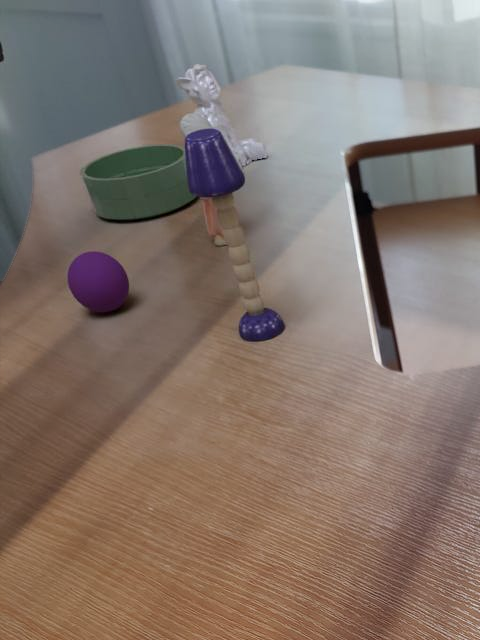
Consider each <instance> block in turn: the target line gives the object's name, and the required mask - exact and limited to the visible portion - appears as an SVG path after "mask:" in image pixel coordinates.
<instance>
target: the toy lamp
mask: <svg viewBox="0 0 480 640" xmlns="http://www.w3.org/2000/svg"><path fill="white" fill-rule="evenodd" d="M184 148H185V156H186V169H187V180H188V187H189V190H190V192H191V193H192V194H193V195H194V196H196V197H198V198H200V197H205V198H210V197H211V199H212V202H213V204H214V206H215V207H216V208H217V218H218V221H219V223H220V225H221V226H222V227H223V237H224V240H225V242H226V243H227V245H226V246H227V253H228V257H229V259H230V261H231V263H233V265H232V269H233V274H234V276H235V278H236V280H238V289H239V292H240V294H241V296H242V297H243V306H244V308H245V310H246V311H245V313H244V314H243V315H242V316H241V317H240V320H239V323H238V334H239V337H240V338H241V339H243V340H246V341H249V342H251V341H252V342H260V341H266V340H269V339H272V338H274V337H277V336H278V335H280V334H282V332H283V331H284V329H285V325H286V324H285V322H284V320H283V319H282V316H281V315H280V314H279V313H278V312H277V311H276V310H274V309H272V308H270V307H265V301H264V298H263V297H262V295H261V294H260V285H259V282H258V280H257V278H256V270H255V267H254V264H253V263H252V261H251V253H250V248H249V246H248V244H247V243H246V242H245V237H246V236H245V232H244V229H243V227H242V226H241V224H240V214H239V212H238V210H237V208H236V206H235V205H234V204H235V203H234V201H235V200H234V192H237V191H239V190H240V189H242V188H243V186H244V185H245V184H246V177H245V174H244V172H243V169H242V170H241V168H240V166H239V164H238V162H237V160H236V158H235V157H234V155H233V153H232V151H231V149H230V147H229V146H228V144H227V142H226V140H225V138H224V136H223V135H222V133H221V132H220V131H219V130H217V129H201V130H197V131H194V132H192V133H190V134H188V135H187V136H186V138H185V137H184Z"/></svg>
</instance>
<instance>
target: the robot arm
mask: <svg viewBox="0 0 480 640" xmlns="http://www.w3.org/2000/svg"><path fill="white" fill-rule="evenodd" d="M3 52H4V51H3V45H2V42H1V41H0V63H2V62H4V60H5V56H4V53H3Z"/></svg>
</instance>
